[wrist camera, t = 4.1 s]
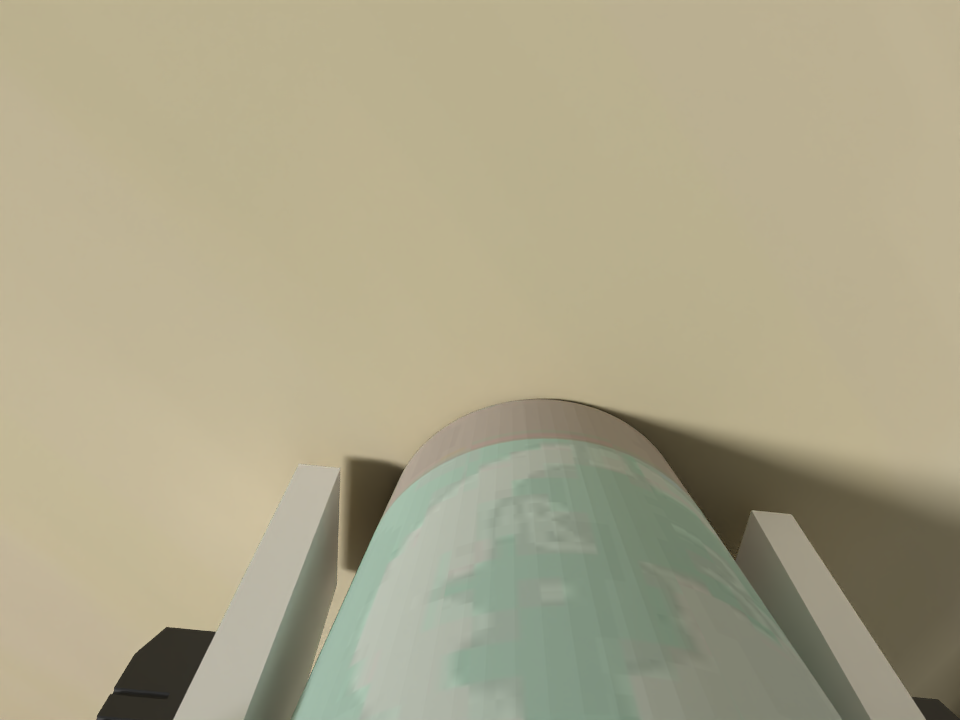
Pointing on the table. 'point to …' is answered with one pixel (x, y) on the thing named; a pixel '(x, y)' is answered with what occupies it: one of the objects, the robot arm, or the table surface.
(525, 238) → the table surface
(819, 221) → the table surface
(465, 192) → the table surface
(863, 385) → the table surface
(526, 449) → the coffee cup
